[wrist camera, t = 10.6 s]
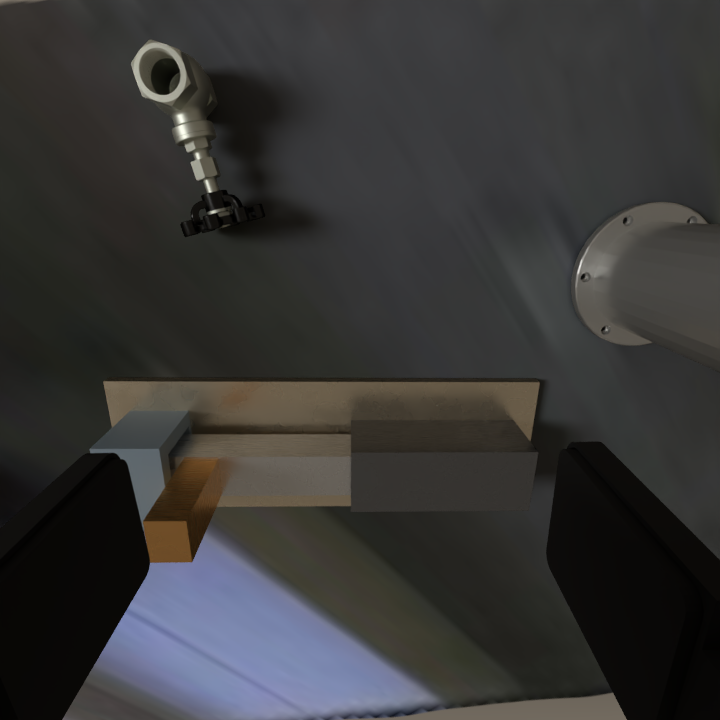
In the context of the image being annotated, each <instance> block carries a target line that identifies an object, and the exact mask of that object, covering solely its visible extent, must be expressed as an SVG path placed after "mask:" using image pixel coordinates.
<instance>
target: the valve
mask: <svg viewBox="0 0 720 720" xmlns="http://www.w3.org/2000/svg"><path fill="white" fill-rule="evenodd" d="M131 65H132V69H133V72H134V75H135V78H136V81H137V84H138V87H139V89H140V91H141V94H142V96H143V97H144V98H146V99H148V100H150V101H152V102H154V103H155V104H156V105H157V106H158V107H159V108H160V109H161V110H162V111H163V112H165V113H166V114H168V115H169V116H171V117H172V119H173V122H174V125H175V127H174V128H173V129H172V133H173V136H174V139H175V142H176V145H178V146H185V147H186V150H187V152H188V153H190V154H193V156H194V159H195V161H193V162H191V165H192V168H193V171H194V174H195V177H196V180H197V181H203V182H204V185H205V189H206V192H207V194H204V195H202V196H201V197H202V200H203V201H200V202H198V203H196V204H195V205H194V206H193V207H192V210H191V219H192V220H189V221H185V222H182V223H181V224H180V225H181V228H182V231H183V234H184V236H185V237H188V236H192V235H196V234H198V233H200V232H202V233H205V232H209V231H213V230H215V229H217V228H223V227H229V226H234V225H237V224H240V223H241V222H245V221H253V220H256V219H260V218H263V217H265V213H264V210H263V207H262V204H257V205H253V207H251V208H248V209H247V207H246V206H245V207H243V206H242V203H241V201H240V200H239V199H238V198H237V197H236V196H235V195H232V194H228V193H227V190H220V189H219V186H218V183H217V180H216V178H218V177H220V176H221V174H220V171H219V167H218V164H217V161H216V158H214V157H210V154H209V150H210V149H211V148H212V145H211V142H210V141H212V140H214V139H215V138H216V132H215V129H214V126H213V123H212V122H211V121H207V119H206V118H207V117H208V116H209V115H210V113H211V112H212V111H213V110H214V109H215V107H216V106H217V105H218V102H217V99H216V96H215V92H214V89H213V86H212V83H211V79H210V77H209V76H208V75H207V74H206V73H205V71H204V70H203V68H202V67H201V65H200V64H199V63H198V62H197V61H196V60H195V59H194V58H192V57H191V56H190V55H188V54H186V53H184V52H182V51H181V50H179V49H177V48H174V47H171V46H168V45H166V44H163V43H160V42H157V41H153V40H149V41H148V42H147V43H146V44H145V45H144V46H143V47H142V48H141V49H140V51H139V52H138V53H137V55H136V56H135V58H134V59H133V61H132V63H131ZM231 204H232V205H233V208H234V209H233V208H232V205H231ZM204 208H205V209H206V212H207V215H206V216H203V219H204V220H200V217H199V211H200V210H201V209H204ZM230 210H232V211H233V213H232V211H230Z"/></svg>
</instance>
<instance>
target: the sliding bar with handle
mask: <svg viewBox="0 0 720 720" xmlns="http://www.w3.org/2000/svg"><path fill="white" fill-rule="evenodd" d="M168 458H169V465H170V471H171V479H170V480H169V482H168V483H167V485H166V486H165V488H164V490H163V491H162V493H161V494H160V496H159V497H158V499H157V500H156V502H155V503H154V505H153V506H152V508H151V509H150V511H149V513H148V514H147V516H146V517H145V519H144V520H143V526H144V531H145V537H146V542H147V548H148V553H149V557H150V563H156V562H192V561H193V559H194V557H195V555H196V552H197V550H198V548H199V545H200V543H201V541H202V539H203V536H204V534H205V532H206V529H207V527H208V525H209V523H210V520H211V518H212V516H213V513H214V511H215V509H216V507H217V504H218V502H219V500H220V497H221V496H301V495H351V434H183V435H182V436H181V437H180V439H179V440H178V442H177V443H176V444H175V446H174V447H173V449H172V450H171V451H170V453H169V454H168Z"/></svg>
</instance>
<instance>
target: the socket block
mask: <svg viewBox="0 0 720 720" xmlns="http://www.w3.org/2000/svg"><path fill="white" fill-rule="evenodd" d="M183 434H192V433H191V425H190V417H189V411H129V412H128V413H127V414H126V415H125V416H124V417H123V418H122V419H121V420H120V421H119V422H118V423H117V424H116V425H115V426H114V427H112V428H111V429H110V430H109V431H108V432H107V433H106V434H105V435H104V436H103V437H102V438H101V439H100V440H99V441H98V442H97V443H95V444H94V445H93V446H92V447H91V448H90V453H116V454H117V455H118V456H119V457H120V459H123V460H125V461H126V462H127V465H128V468H129V472H130V476H131V481H132V485H133V489H134V493H135V498H136V502H137V506H138V510H139V514H140V519H141V523H142V527H143V530H144V526H143V520H144V519H145V517H146V516H147V514H148V513H149V511H150V509H151V508H152V506H153V505H154V503H155V502H156V500H157V499H158V497H159V496H160V494H161V493H162V491H163V490H164V488H165V486H166V485H167V483H168V482H169V480H170V479H171V471H170V465H169V458H168V454H169V453H170V451H171V450H172V449H173V447H174V446H175V444H176V443H177V442H178V440H179V439H180V437H181V436H182V435H183Z"/></svg>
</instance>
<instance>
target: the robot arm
mask: <svg viewBox="0 0 720 720" xmlns="http://www.w3.org/2000/svg"><path fill="white" fill-rule="evenodd" d="M623 219H624V222H623ZM582 274H583V277H582V278H581V276H582ZM571 295H572V301H573V306H574V308H575V311H576V313H577V316H578V317H579V319H580V320H581V321H582V323H583V324H584V326H585V327H587V328H588V329H589V330H590V331H591V332H592V333H593V334H595V335H597V336H599V337H600V338H602V339H604V340H607V341H609V342H611V343H614V344H619V345H624V346H639V345H645V344H650V343H655V344H658V345H660V346H662V347H664V348H666V349H669V350H671V351H673V352H675V353H678V354H680V355H682V356H684V357H686V358H689V359H691V360H693V361H695V362H698V363H700V364H702V365H704V366H706V367H709V368H711V369H713V370H715V371H717V372H720V224H708V223H707V222H706V221H705V219H704V218H703V217H702V216H701V215H700V214H698V213H697V212H695V211H694V210H692V209H691V208H688V207H686V206H683V205H680V204H677V203H669V202H649V203H644V204H638V205H635V206H632V207H630V208H627V209H624V210H622V211H620V212H619V213H617V214H615V215H614V216H612V217H610V218H609V219H608V220H606V221H605V222H604V223H603V224H602V225H600V226H599V227H598V228H597V229H596V230H595V231H594V233H593V234H592V235H591V236H590V237H589V238H588V240H587V241H586V243H585V244H584V246H583V248H582V249H581V251H580V253H579V255H578V258H577V260H576V263H575V265H574V269H573V274H572V278H571ZM546 554H547V561H548V565H549V568H550V570H551V572H552V574H553V576H554V578H555V580H556V582H557V584H558V586H559V588H560V590H561V592H562V594H563V596H564V598H565V599H566V601H567V603H568V605H569V607H570V609H571V611H572V613H573V615H574V617H575V619H576V621H577V623H578V625H579V627H580V629H581V631H582V633H583V635H584V637H585V639H586V641H587V642H588V644H589V646H590V648H591V650H592V652H593V654H594V656H595V658H596V660H597V662H598V664H599V666H600V668H601V670H602V672H603V674H604V676H605V678H606V680H607V682H608V684H609V686H610V687H611V689H612V691H613V693H614V695H615V697H616V699H617V701H618V703H619V705H620V707H621V709H622V711H623V713H624V715H625V716H626V719H627V720H720V560H719V559H718V558H717V557H716V556H715V555H714V554H713V553H712V552H711V551H710V550H709V549H708V548H707V547H706V546H705V545H704V544H703V543H702V542H701V541H700V540H699V539H698V538H697V537H696V536H695V535H694V534H693V533H692V532H691V531H690V530H689V529H688V528H687V527H686V526H685V525H684V524H683V523H682V522H681V521H680V520H679V519H678V518H677V517H676V516H675V515H674V514H673V513H672V512H671V511H670V510H669V509H668V508H667V507H666V506H665V505H664V504H663V503H662V502H661V501H660V500H659V499H658V498H657V497H656V496H655V495H654V494H653V493H652V492H651V491H650V490H649V489H648V488H647V487H646V486H645V485H644V484H643V483H642V482H641V481H640V480H639V479H638V478H637V477H636V476H635V475H634V474H633V473H632V472H631V471H630V470H629V469H628V468H627V467H626V466H625V465H624V464H623V463H622V462H621V461H620V460H619V459H618V458H617V457H616V456H615V455H614V454H613V453H612V452H611V451H610V450H609V449H608V448H607V447H606V446H605V445H604V444H603V443H601V442H572V443H570V444H569V446H568V448H567V449H563V450H561V452H560V455H559V461H558V468H557V475H556V483H555V490H554V497H553V505H552V512H551V520H550V527H549V534H548V542H547V550H546ZM149 565H150V557H149V553H148V548H147V544H146V540H145V536H144V531H143V527H142V523H141V519H140V514H139V510H138V506H137V502H136V498H135V493H134V489H133V485H132V481H131V476H130V472H129V468H128V465H127V462H126V461H125V460H123V459H120V457H119V456H118V455H117V454H116V453H87V454H85V455H83V456H82V457H80V458H79V459H78V460H77V461H76V462H75V463H74V464H73V465H71V466H70V467H69V468H68V469H67V470H66V471H65V472H64V473H62V474H61V475H60V476H59V477H58V478H57V479H56V480H55V481H53V482H52V483H51V484H50V485H49V486H48V487H47V488H46V489H44V490H43V491H42V492H41V493H40V494H39V495H38V496H37V497H35V498H34V499H33V500H32V501H31V502H30V503H29V504H28V505H26V506H25V507H24V508H23V509H22V510H21V511H20V512H19V513H17V514H16V515H15V516H14V517H13V518H12V519H11V520H10V521H8V522H7V523H6V524H5V525H4V526H3V527H2V528H1V529H0V720H62V719H63V717H64V715H65V714H66V712H67V710H68V709H69V707H70V705H71V704H72V702H73V700H74V698H75V697H76V695H77V693H78V692H79V690H80V688H81V686H82V685H83V683H84V681H85V680H86V678H87V676H88V675H89V673H90V671H91V669H92V668H93V666H94V664H95V663H96V661H97V659H98V658H99V656H100V654H101V652H102V651H103V649H104V647H105V646H106V644H107V642H108V640H109V639H110V637H111V635H112V634H113V632H114V630H115V629H116V627H117V625H118V623H119V622H120V620H121V618H122V617H123V615H124V613H125V612H126V610H127V608H128V606H129V605H130V603H131V601H132V600H133V598H134V596H135V594H136V593H137V591H138V589H139V588H140V586H141V584H142V583H143V581H144V579H145V577H146V575H147V573H148V570H149Z"/></svg>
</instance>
